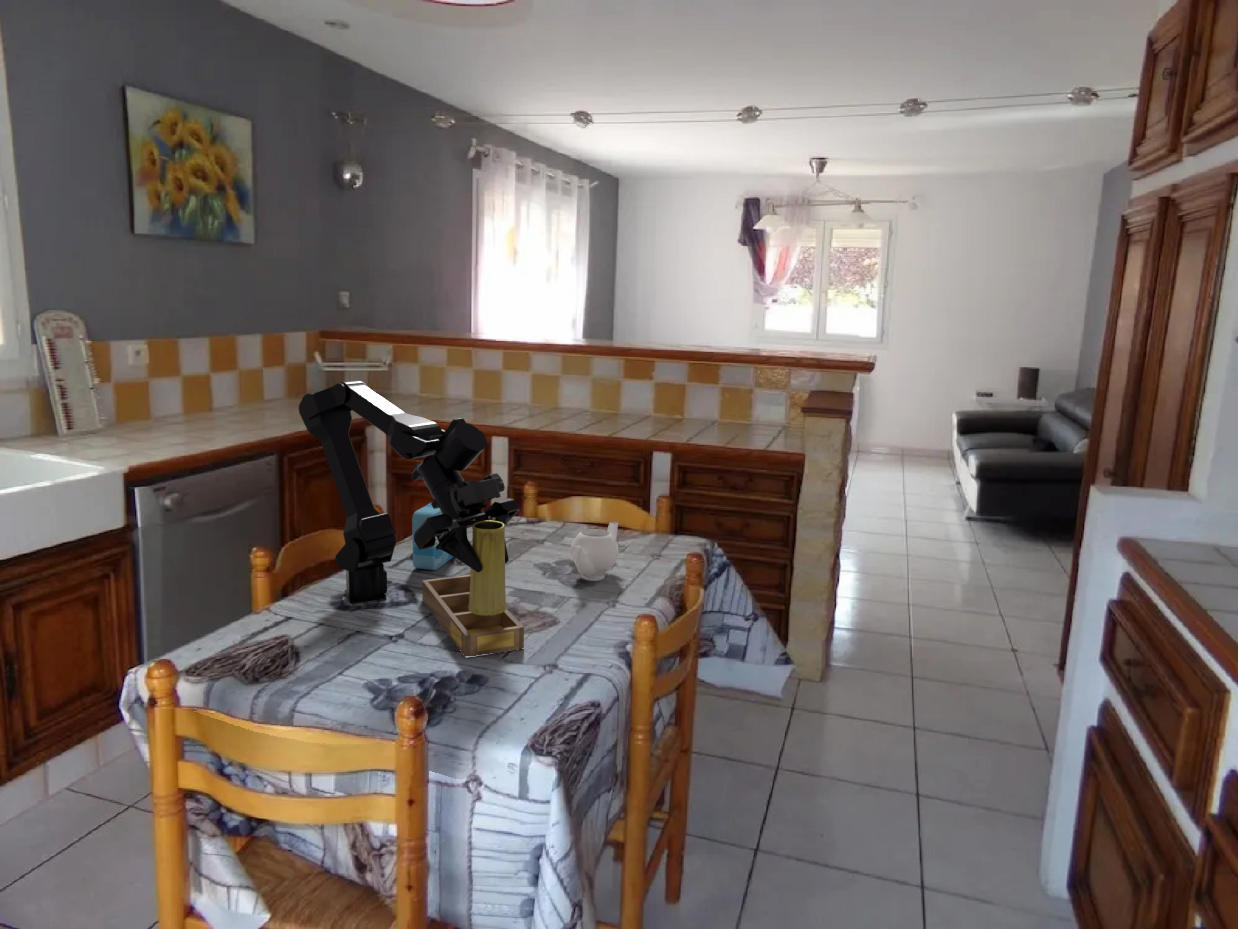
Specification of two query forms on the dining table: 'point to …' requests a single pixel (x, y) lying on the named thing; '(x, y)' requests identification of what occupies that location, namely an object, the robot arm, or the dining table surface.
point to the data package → (430, 556)
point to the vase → (488, 569)
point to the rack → (470, 618)
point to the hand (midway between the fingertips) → (493, 566)
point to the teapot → (595, 551)
